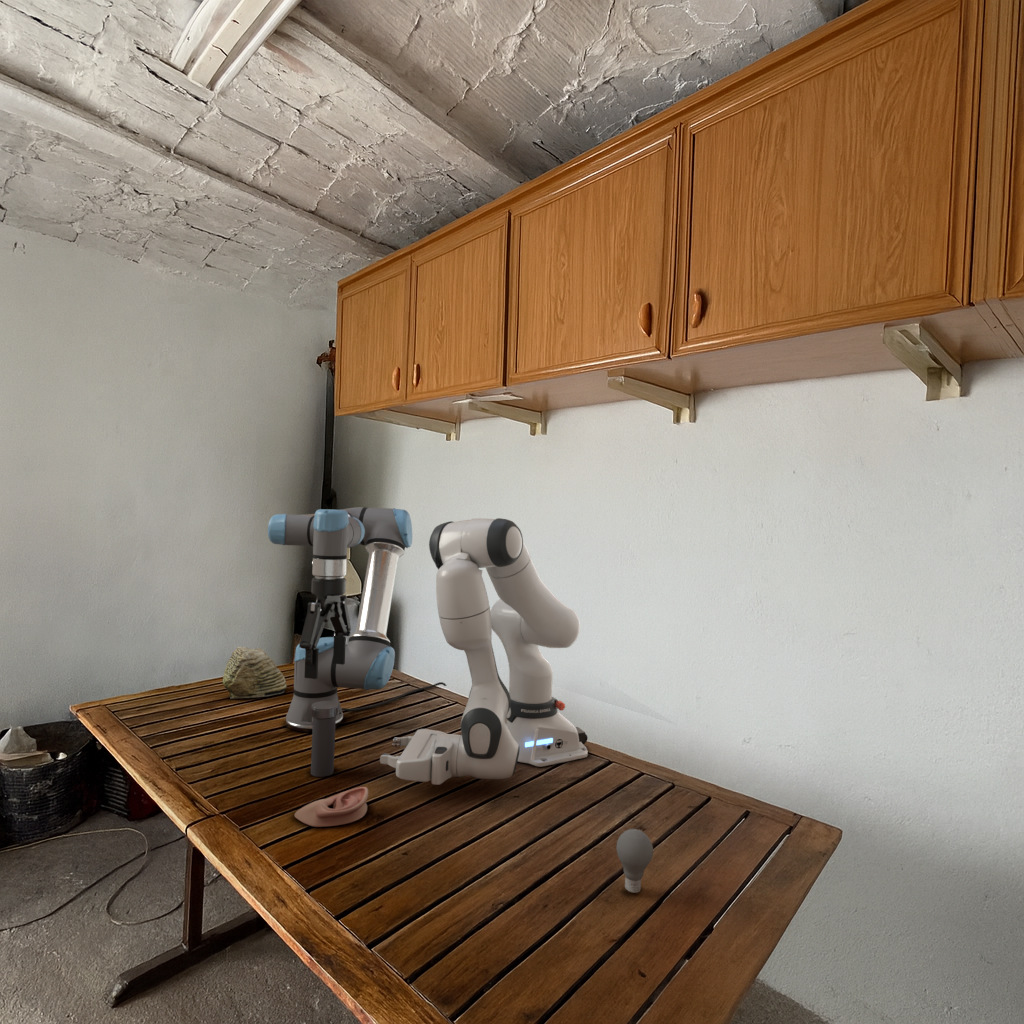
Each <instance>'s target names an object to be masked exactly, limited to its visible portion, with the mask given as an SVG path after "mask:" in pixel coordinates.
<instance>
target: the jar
mask: <svg viewBox="0 0 1024 1024" xmlns="http://www.w3.org/2000/svg"><path fill="white" fill-rule="evenodd" d="M335 724H336V716H335V717H332V718H326V719H319V718H314V717H313V728H312V732H311V755H310V758H311V759H310V762H311V763H310V774H311V776H313V777H316V778H325V777H328V776H331V775H332V774H333V773H334V771H335V750H336V749H335V747H336V746H335V745H336V727H335Z"/></svg>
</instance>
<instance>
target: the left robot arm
mask: <svg viewBox="0 0 1024 1024" xmlns="http://www.w3.org/2000/svg"><path fill="white" fill-rule="evenodd" d="M267 524H268V526H267V536H268V539H269V541H270V542H271V543H272V544H274V545H279V546H281V545H282V546H298V547H299V546H300V547H303V546H304V547H312V562H311V565H312V573H311V574H312V576H314V577H312V579H311V588H310V589H311V591H310V592H311V594H312V595H315V596H316V599H315V602H311V601H309V602H308V603H307V612H306V617H305V620H304V624H303V629H302V633H301V637H300V640H299V643H298V644H297V645H296V647H295V654H294V659H293V661H294V670H293V671H294V672H293V695H292V696H293V697H292V699H291V702H290V704H289V708H288V711H287V713H286V715H285V726H286V728H287V729H289V730H291V731H294V732H295V731H296V732H301V733H312V728H313V717H312V716H311V707H312V704H313V703H315V702H319V701H334V702H336V703H338V714H337V715H336V724H335V728H337V727H339V726H340V725H342V723H343V722H344V713H343V712H358V711H363V710H368V709H373V708H375V707H376V708H377V707H379V706H383V705H385V704H388V703H391V702H393V701H395V700H398V699H400V698H403V697H405V696H408V695H410V694H414V693H416V692H419V691H423V690H428V689H431V688H434V687H437V686H440V685H441V686H442V685H443V686H444V687H447V685H448V684H446V683H445V682H442V681H441V682H439V681H438V682H437V683H434V684H432V685H431V684H430V685H427V686H423V687H419V688H415V689H413V690H409V691H407V692H404V693H402V694H400V695H397V696H395V697H391V698H390V699H388V700H385V701H382V702H378V703H375V704H371V705H367V706H362V707H356V708H355V707H354V708H347V707H346V708H345V707H342V706H341V702H340V699H339V695H338V688H340V689H341V688H342V689H359V690H365V691H370V690H382V689H383V688H384V687H385V686H387V684H388V683H389V681H390V678H391V677H392V676H391V675H392V673H393V671H394V666H395V657H396V653H395V651H396V650H395V649H394V647H392V646H391V641H390V639H389V638H388V637H387V632H388V625H389V619H390V613H391V606H392V599H393V594H394V587H395V582H396V575H397V568H398V561H399V559H400V558H401V557H402V556H404V554H405V549H408V548H410V547H412V544H413V523H412V518H411V516H410V513H409V512H408V511H407V510H406V509H401V508H395V507H393V508H385V507H365V506H357V507H348V508H343V509H341V508H340V509H328V508H326V509H323V508H320V509H319V508H318V509H316V511H315V512H314V513H309V514H308V513H306V514H304V513H303V514H287V513H277V514H274V515H272V516H271V517H270V519H269V521H268V523H267ZM358 545H359V546H365V551H366V552H367V554H368V560H367V566H366V570H365V571H366V572H365V577H364V582H363V588H362V594H361V599H360V605H359V611H358V616H357V621H356V627H355V632H354V633H352V634H351V631H352V626H351V620H350V614H349V609H348V608H349V607H348V596H347V595H346V594H345V593H346V590H347V579H346V577H345V576H347V565H348V564H347V563H348V556H347V555H348V549H351V548H354V547H356V546H358ZM329 620H330V622H331V625H332V628H333V631H334V632H335V635H334V636H325V637H321V636H322V634H323V630H324V628H325V625H326V624H327V623H328V622H329ZM347 637H348V641H346V640H347Z"/></svg>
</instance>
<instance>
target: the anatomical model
mask: <svg viewBox="0 0 1024 1024" xmlns="http://www.w3.org/2000/svg"><path fill="white" fill-rule="evenodd" d="M368 797H369V789H368V787H366V786H360V787H355V788H352V789H348V790H346V791H341V792H340V793H337V794H334V795H332V796H330V797H327V798H322V799H318V800H315V801H312V802H309V803H308V804H306V805H304V806H302V807H301V808H299V809H298V810H297V811H296V812H295V813H294V818H295V819H297V820H298V821H300V822H301V823H303V824H305V825H308V826H310V827H314V828H315V827H316V828H323V827H334V826H341V825H346V824H351V823H353V822H356V821H358V820H361V819H362V818H363V817H364V816H365V815H366V814H367V811H368V804H367V800H368Z"/></svg>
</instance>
